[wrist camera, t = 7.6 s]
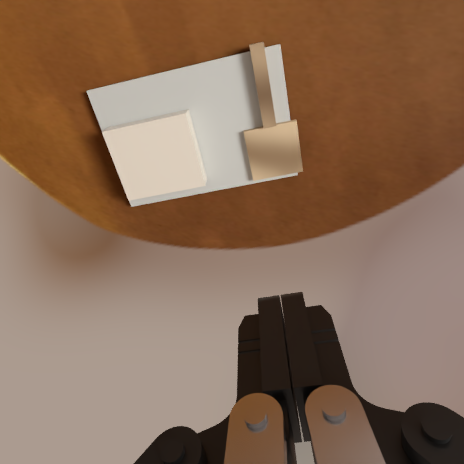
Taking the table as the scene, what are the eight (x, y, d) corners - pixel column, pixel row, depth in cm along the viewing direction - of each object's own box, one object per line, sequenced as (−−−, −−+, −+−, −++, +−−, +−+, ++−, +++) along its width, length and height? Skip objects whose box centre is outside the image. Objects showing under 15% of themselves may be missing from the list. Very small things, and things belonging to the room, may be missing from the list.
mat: (88, 90, 33) (86, 90, 33) (279, 43, 31) (280, 44, 30) (132, 204, 39) (131, 206, 38) (297, 172, 36) (297, 174, 36)
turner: (227, 50, 31) (227, 50, 30) (285, 36, 30) (286, 36, 29) (253, 178, 36) (253, 182, 35) (302, 169, 36) (303, 172, 35)
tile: (188, 108, 33) (109, 126, 34) (185, 113, 31) (101, 131, 32) (207, 178, 36) (134, 192, 37) (205, 185, 34) (128, 200, 36)
